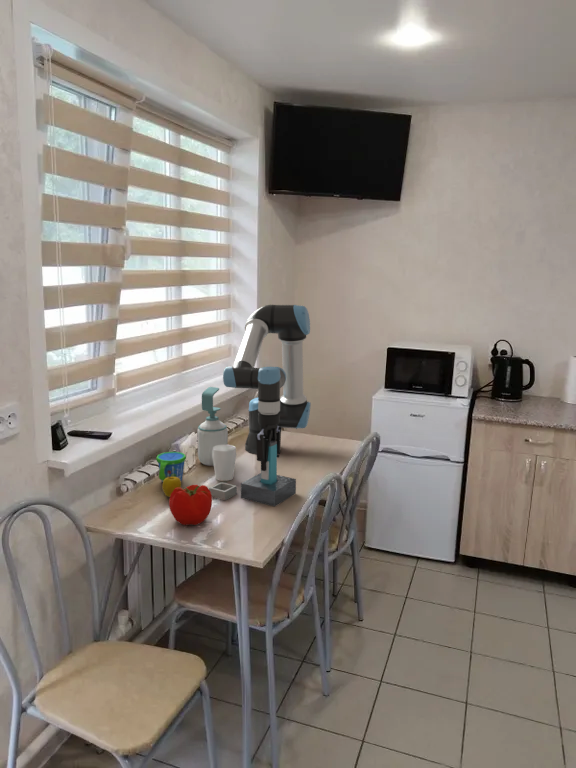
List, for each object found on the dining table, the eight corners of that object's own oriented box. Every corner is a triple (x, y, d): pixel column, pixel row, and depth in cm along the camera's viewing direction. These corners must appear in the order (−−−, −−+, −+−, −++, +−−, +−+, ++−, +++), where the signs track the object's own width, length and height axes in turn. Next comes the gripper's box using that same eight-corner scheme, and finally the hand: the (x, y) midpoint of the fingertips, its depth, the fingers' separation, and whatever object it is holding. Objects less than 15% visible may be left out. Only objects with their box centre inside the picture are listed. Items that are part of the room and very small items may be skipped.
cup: (232, 483, 226) (232, 452, 224) (209, 481, 228) (208, 450, 226) (239, 474, 235) (239, 445, 233) (216, 473, 237) (216, 443, 234)
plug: (267, 485, 216) (267, 439, 213) (276, 487, 214) (276, 441, 211) (260, 488, 213) (260, 442, 210) (270, 490, 211) (270, 444, 208)
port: (263, 485, 224) (263, 470, 222) (295, 493, 217) (295, 478, 215) (240, 498, 212) (240, 482, 211) (274, 506, 205) (274, 490, 204)
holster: (221, 489, 219) (221, 482, 219) (237, 493, 216) (236, 485, 215) (209, 496, 213) (209, 488, 213) (225, 500, 210) (225, 492, 209)
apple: (159, 498, 211) (158, 476, 209) (169, 492, 217) (168, 471, 215) (175, 501, 208) (174, 479, 207) (184, 495, 214) (184, 473, 213)
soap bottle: (233, 460, 252) (233, 387, 246) (217, 469, 241) (216, 392, 235) (209, 456, 257) (208, 384, 251) (191, 464, 246) (190, 389, 240)
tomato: (176, 533, 184) (175, 497, 181) (166, 516, 197) (164, 481, 194) (218, 526, 189) (217, 491, 187) (205, 509, 202) (205, 476, 199)
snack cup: (172, 491, 218) (171, 464, 216) (147, 486, 222) (146, 460, 220) (194, 477, 232) (194, 451, 230) (171, 473, 236) (170, 448, 234)
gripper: (273, 405, 217) (272, 468, 222) (245, 415, 203) (245, 482, 208) (291, 408, 213) (290, 471, 218) (264, 419, 199) (264, 486, 204)
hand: (268, 476), depth 213 cm, fingers closed on plug, 4 cm apart
